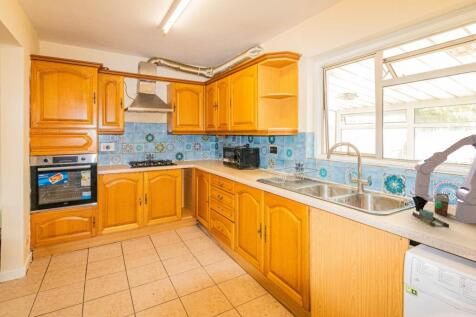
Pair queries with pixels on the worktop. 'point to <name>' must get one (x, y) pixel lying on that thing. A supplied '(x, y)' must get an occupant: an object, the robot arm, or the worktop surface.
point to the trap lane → (432, 221)
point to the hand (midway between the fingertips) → (418, 211)
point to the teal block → (426, 214)
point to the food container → (441, 203)
